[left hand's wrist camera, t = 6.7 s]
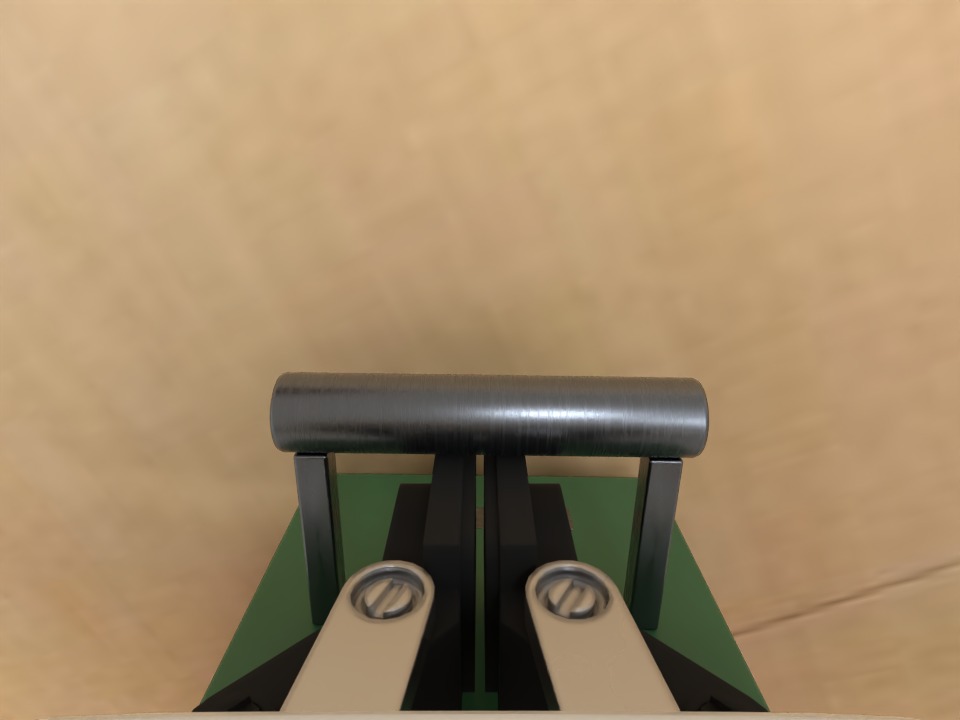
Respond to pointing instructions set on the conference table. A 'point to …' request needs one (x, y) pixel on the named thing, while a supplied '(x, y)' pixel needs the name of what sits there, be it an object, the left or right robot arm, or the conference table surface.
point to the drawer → (483, 431)
